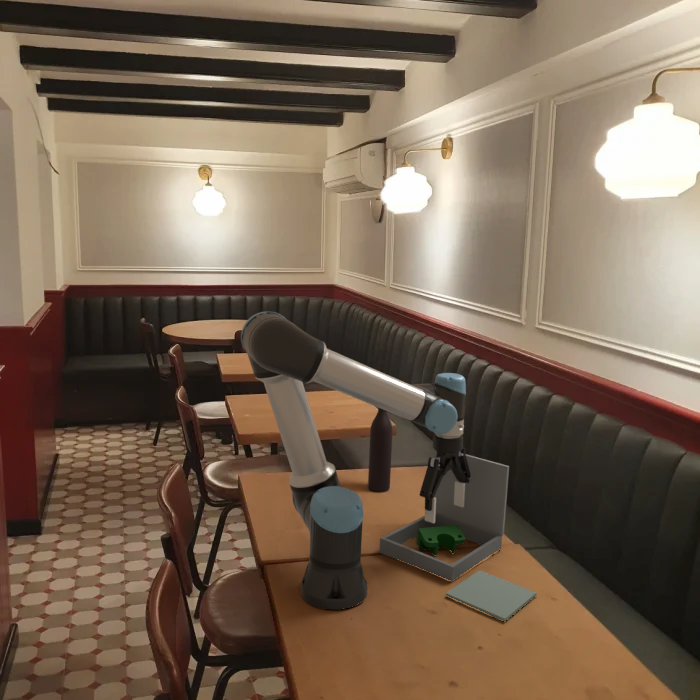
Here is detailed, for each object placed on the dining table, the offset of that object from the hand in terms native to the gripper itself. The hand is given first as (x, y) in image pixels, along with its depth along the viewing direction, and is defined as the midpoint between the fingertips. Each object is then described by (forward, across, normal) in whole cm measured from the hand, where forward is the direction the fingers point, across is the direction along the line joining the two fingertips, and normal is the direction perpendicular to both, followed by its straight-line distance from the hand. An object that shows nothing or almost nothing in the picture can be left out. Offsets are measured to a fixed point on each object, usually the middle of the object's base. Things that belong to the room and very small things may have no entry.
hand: (444, 513), depth 178 cm
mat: (+10, -12, -21) cm, 26 cm away
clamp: (+11, 0, 0) cm, 11 cm away
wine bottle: (+11, +22, +39) cm, 47 cm away
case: (+10, 0, 0) cm, 10 cm away
